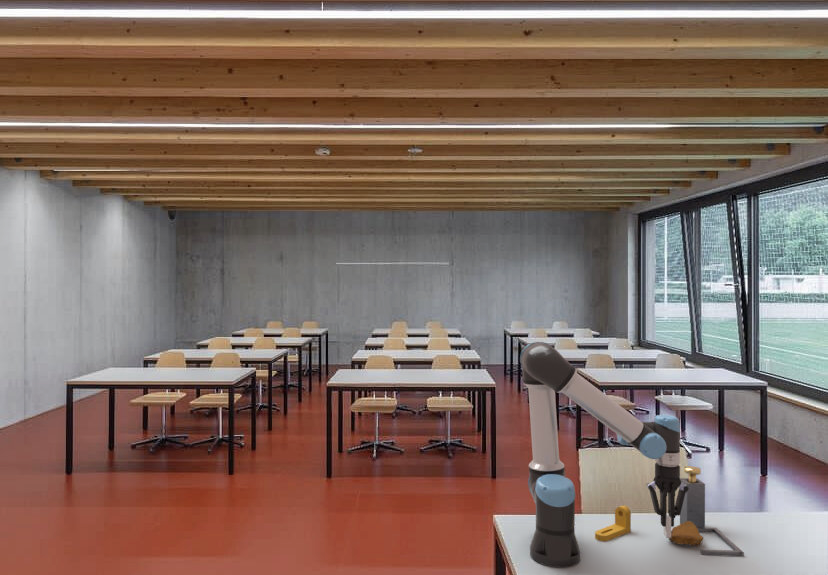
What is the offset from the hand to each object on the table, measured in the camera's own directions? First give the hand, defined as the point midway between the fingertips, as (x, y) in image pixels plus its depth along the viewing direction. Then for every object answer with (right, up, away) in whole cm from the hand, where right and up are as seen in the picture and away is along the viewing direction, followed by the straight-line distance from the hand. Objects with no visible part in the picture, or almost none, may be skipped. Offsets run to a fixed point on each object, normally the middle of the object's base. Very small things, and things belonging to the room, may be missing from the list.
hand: (667, 536), depth 190 cm
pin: (+14, +10, +13) cm, 21 cm away
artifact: (+6, -2, +1) cm, 6 cm away
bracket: (-16, -2, +6) cm, 17 cm away
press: (+14, -2, +3) cm, 14 cm away
